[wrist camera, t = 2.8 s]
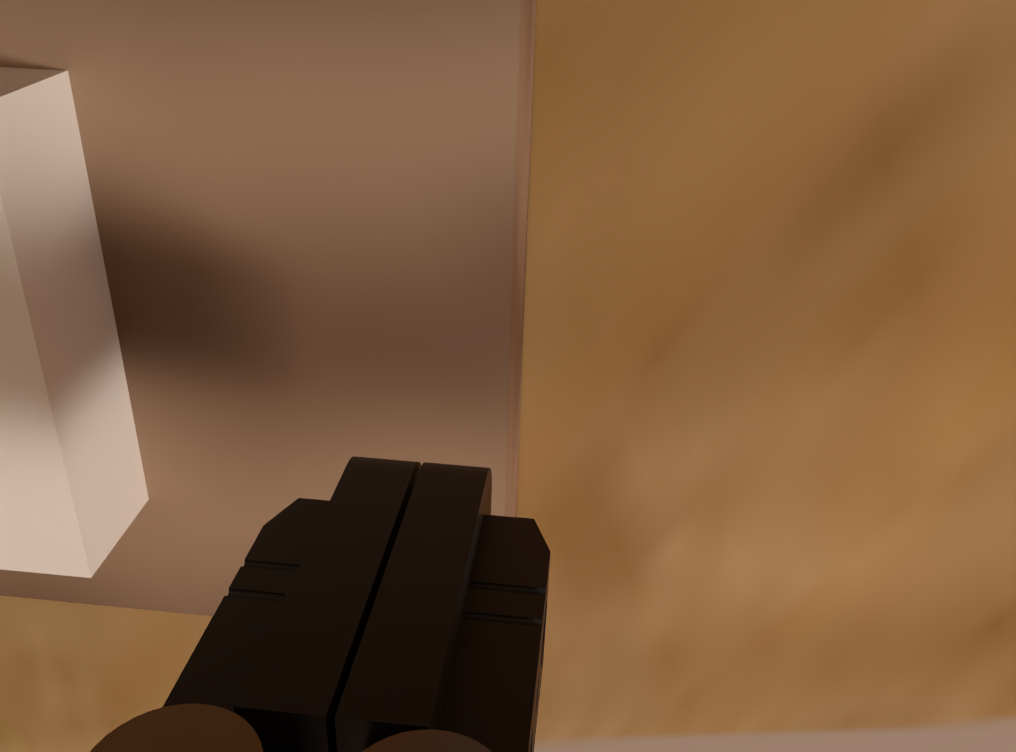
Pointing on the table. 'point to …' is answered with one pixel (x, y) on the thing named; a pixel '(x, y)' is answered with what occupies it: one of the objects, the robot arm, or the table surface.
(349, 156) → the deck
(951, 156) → the table surface
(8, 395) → the tile
